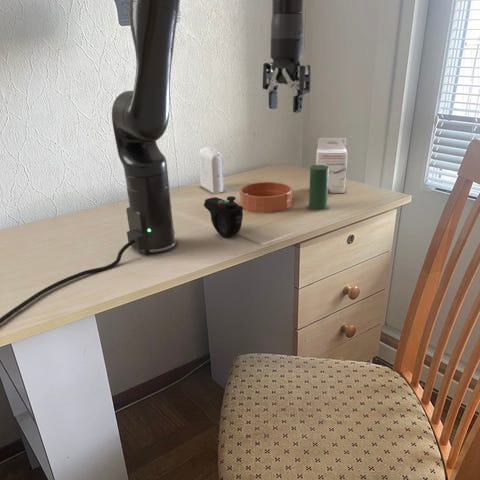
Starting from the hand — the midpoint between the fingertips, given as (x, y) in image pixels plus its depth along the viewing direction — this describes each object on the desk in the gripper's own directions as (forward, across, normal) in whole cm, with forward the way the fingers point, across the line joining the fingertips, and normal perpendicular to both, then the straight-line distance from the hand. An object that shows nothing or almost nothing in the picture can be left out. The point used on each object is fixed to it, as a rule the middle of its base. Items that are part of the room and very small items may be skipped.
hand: (285, 110), depth 128 cm
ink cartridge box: (+25, -1, +20) cm, 32 cm away
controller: (+26, +4, -24) cm, 35 cm away
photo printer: (+25, -28, -3) cm, 38 cm away
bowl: (+25, -5, -2) cm, 26 cm away
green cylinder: (+25, +7, +6) cm, 27 cm away
